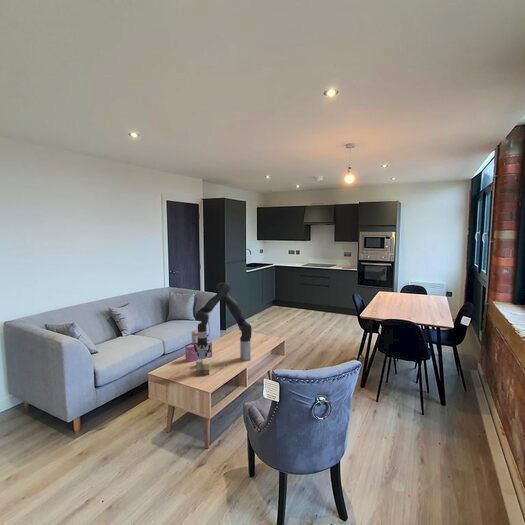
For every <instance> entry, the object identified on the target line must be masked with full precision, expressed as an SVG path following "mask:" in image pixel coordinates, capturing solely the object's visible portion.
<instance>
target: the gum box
mask: <svg viewBox="0 0 525 525" xmlns="http://www.w3.org/2000/svg"><path fill="white" fill-rule="evenodd" d="M197 343H198V342H197ZM197 343H192V342H191V343H188V344H185V345H184V346H185V360H186V362H188V363H191V362H192V363H193V362H196V360H199V357H198V353H197V352H195V349H194V344H197ZM207 343H208V344H211V347H210V351H209V352H207V357H206V358H205V359H209V358H212V357H213V342H212V341H211V340H210V339H207ZM206 348H207V350H208V348H209V347H208V345H207V346H206ZM198 349H199V347H198V346H197V350H198Z"/></svg>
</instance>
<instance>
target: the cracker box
mask: <svg viewBox="0 0 525 525" xmlns="http://www.w3.org/2000/svg"><path fill="white" fill-rule="evenodd" d="M197 333H198V329H196V330H193V331H191V344H192V343H197V342H198V339H197Z"/></svg>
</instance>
